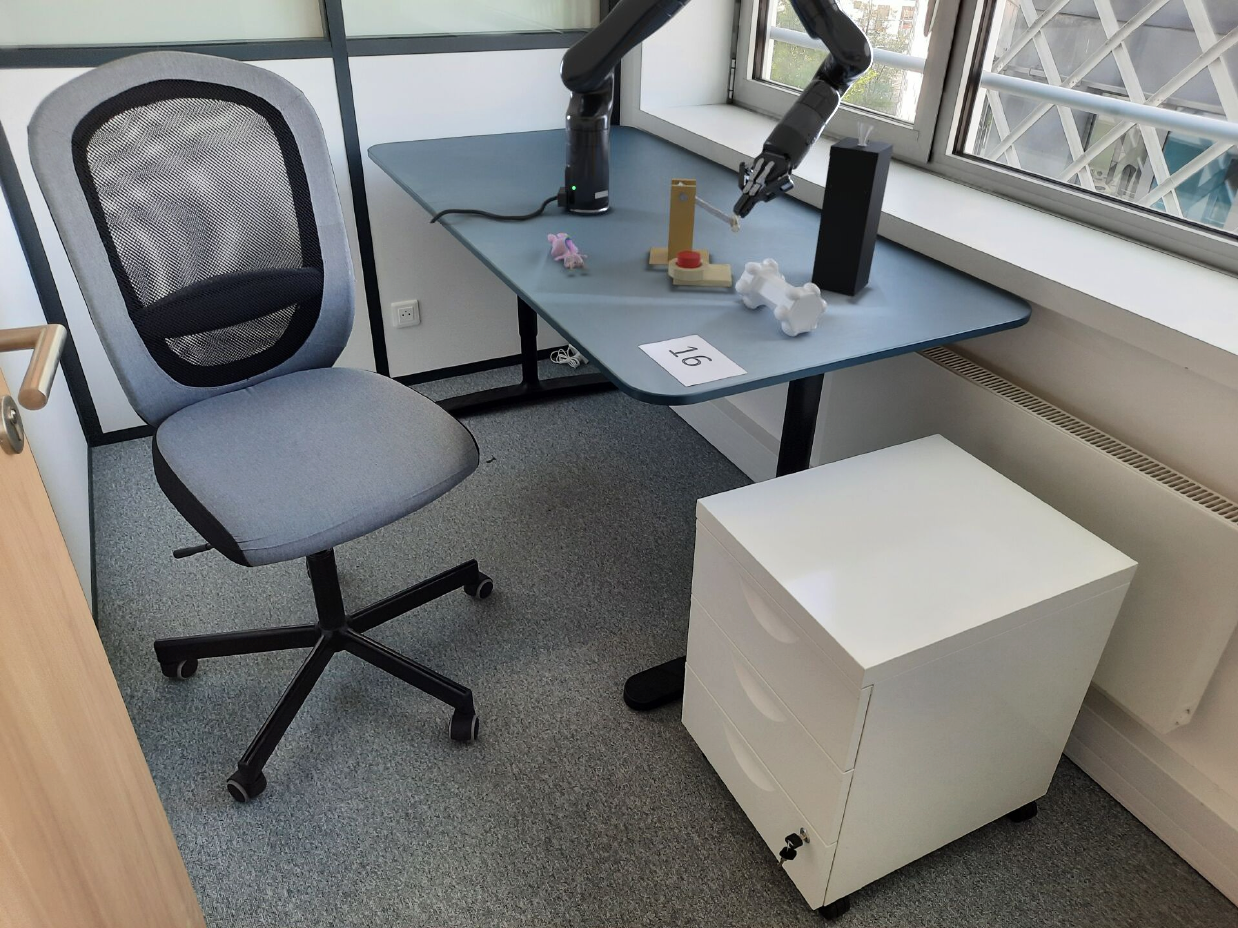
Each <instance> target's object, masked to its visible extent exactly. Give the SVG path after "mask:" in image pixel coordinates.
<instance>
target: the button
mask: <svg viewBox="0 0 1238 928" xmlns="http://www.w3.org/2000/svg"><path fill="white" fill-rule="evenodd" d="M700 262H701V254H700V253H698V252H695V251H682V252H679V253H678V259H677V266H679V267H682V268H690V269H693V268H699V267H700Z"/></svg>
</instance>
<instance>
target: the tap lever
mask: <svg viewBox="0 0 1238 928" xmlns="http://www.w3.org/2000/svg"><path fill="white" fill-rule="evenodd" d="M678 185H685V184H684V183H682V182H679V184H678ZM695 206H697V207H699V208H700V209H703V210H704V211H706V212H708V213H710V214H711V215H713V216H714V217H716V218H717V219H720V220H721V221H723V222H724V223H726V224H728V225H730V228H731V231H732V233H735V234H736V233H738V232H739V231H740V223H739V222H740V221H739V217H737V216H736V215H735V214H732V215H728V214H726V213H725V212H722V211H721V210H719V209H718V208H717V207H715V206H713V205H711V204H710V203H709V202H706V201H705V200H703V199H701V198H700V197H698V196H696V199H695Z"/></svg>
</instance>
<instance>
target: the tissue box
mask: <svg viewBox="0 0 1238 928" xmlns="http://www.w3.org/2000/svg"><path fill="white" fill-rule="evenodd" d="M876 129H877V126H873V125H871V124H869V123H863V122H861V121H857V137H858V138H857V137H850V136H847V137H845V138H843V139H841V140H839V141H838V142H835V143H833V144H831V145H830V149H829V154H828V156H829V159H828V164H827V172H826V177H825V186H824V191H823V193H824V194H823V198H822V199H823V200H822V207H821V212H820V220H819V226H818V233H817V239H816V240H817V241H816V247H815V255H814V260H813V261H814V262H813V267H812V275H811V282H810V283H813V284H815V285H816V286H817V287H818V288H819V290H820V291H821V290H822V291H826V292H830V293H835V294H839V295H844V296H847V297H855V296H856V295H857V294H858V293H859V292H860V291H861V290H863V289H864V287H866V286H867V285H868V284H869V280H870V275H871V269H872V264H873V258H874V255H875V254H874V253H875V249H876V248H875V247H876V241H877V238H878V237H877V236H878V231H879V225H880V220H881V215H882V210H883V204H884V197H885V193H886V187H887V183H888V176H889V170H890V165H891V160H892V154H893V153H894V152H893V151H894V146H895V145H894V143H893V142H886V141H878V140H871V139H870V138H871V136H872V134H873V133H874V132H875V130H876Z"/></svg>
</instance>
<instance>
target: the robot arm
mask: <svg viewBox="0 0 1238 928" xmlns="http://www.w3.org/2000/svg"><path fill="white" fill-rule="evenodd" d="M691 1H692V0H619V1H618V2H617V4H615V6H614V7H613V8H612V9H611V11H610V12H609V13H608V14H607V16H606V17H605V18H604V19H602V20H601V22H600V23H599V24H597V26H596V27H594V28H593V29H592V30H591V31H589V32H588V33H587V34H586V35H585V36H583V37H582V38H581V39H579V41H576V43H574V44H573V45H571V46H570V47H568V48H567V50H566V51H565V52H564V54H563V55H562V58H561V60H560V65H559V77H560V79H561V82H562V84H563V86H564V88H566V89H567V90H568V91H570V93H569V94H570V95H569V101H568V106H567V109H566V111H565V115H564V117H565V119H564V124H565V126H564V127H565V166H564V186H560V187H559V188H558V191H557V193H556V194H555V195H554V196H551V197H548V198H546V199H545V200H544V201H543V202H542V204H541V206H540V208H538V209H537V210H536V211H534V212H531V213H529V214H525V215H501V214H495V213H492V212H489V211H485V210H481V209H473V208H472V209H470V208H469V209H461V208H449V209H444V210H441V211H439V212H438V213H437V214H435V215H434V217H433V218H431V220H430V221H429V224H436V222H437V221H438V220H439V219H440V218H441V217H443V216H445V215H448V214H449V215H450V214H461V215H462V214H463V215H481V216H484V217H488V218H491V219H494V220H500V221H524V220H528V219H532V218H534V217H537V216H539V215H540V214H541V213H543V212H544V211H545V209H546V206H548V204H550V203H552V202H556V201H557V203H556V204H557V207H558V208H564V213H571V214H575V215H580V216H596V215H602V214H606V213H608V212H609V211H610V152H611V151H610V150H611V147H610V146H611V145H610V144H611V143H610V141H611V117H612V114H613V113H612V112H613V107H614V93H615V92H614V89H615V87H614V86H615V67H616V65H617V64H618V63H619V62H620V61H621V60H622V59H623V58H624V57H625V56H626V55H627V54H628V53H629V52H630V51H631V50H633V49H634V48H635V47H637V46H638V45H639V44H641V43H642V42H644V41H645V40H647V39H648V38H649V37H651V36H652V35H654V34H655V33H656V32H657V31H659V30H660V29H662V28H663V27H664V26H665V25H667V24H668V23H669V22H670V21H671V20H672V19H673V18H674V17H676V15H678V14H679V13H680V12H681V11H682V10H683V9H684V8H685V7H686V6H687V5H688V4H689V3H690V2H691ZM788 1H789V4H790V5H791V7H792V9H793V11H794V14H795V15H796V16H797V18H798V20H799V22H800V23H801V26H802V27H803V28H804V30H805V32H806V33H807V35H808V37H809V38H810V39H811V40H814V41H821V42H822V43H823V44H824V46H825V47H826V48H827V50H828V51H829V52H828V54H826V56H825V57H824V59H823V60H822V62H821V63H820V65H819V66H818V68H817V70H816V71H815V73H814V74H813V77H812V78H811V81H810V82H809V83H808V84H807V85H806V86H805V87H804V89H803V90H802V91H801V93H800V94H799V96H798V97H797V98H796V99H795V101H794V102H793V104H792V105H791V106H790V108H789V109H788V110H787V111H786V112H785V113H784V114H783V115H782V117H781V118H780V120H779V121H778V122H777V124H776V125H775V126H774V128H773V129H772V131H771V132H770V134H769V135H768V136H767V138H766V139H765V140H764V142H763V143H762V149H761V152H760V153H759V154H758V155H757V156H756V157H754V159H753V161H751V162H748V163H746V162H745V161H741V162H740V163H739V165H738V181H737V182H738V183H737V187H738V189H739V190H740V191H741V192H742V194H741V195H740V197H739V198H738V200H737V201H736V202H735V204H734V205H733V209H732V212H733V213H734V215H736V216H737V217H738V218H740V219H745V218H746V217H747V216H748V215H749V214H750V213H751V211H752V210H753V209H754V207H755V206H756V205H757V204H759V203H761V202H764V203H765V204H766V203H767V204H768V203H769V202H771V201H772V200H775V199H776V198H778V197H780V196H782V195H784V194H785V193H787V192H789V191H791V190H793V189H794V187H795V184H794V182H793V181H792V179H791V175H792V174H793V171H795V170H797V169H798V167H799V166H800V165H801V163H803V160H804V159H805V158H806V156H807V155H808V153H809V152H810V151H811V149H812V148H813V146H814V145H815V144H816V143H817V141H818V139H819V138H820V136H821V134H822V132H823V130H824V129H825V127H826V126H827V125H828V123H829V122H830V120H831V119H832V118H833V116H834V115H835V114H836V112H837V111H838V108H839V107H840V104H841V100H842V99H843V98H844V96H845V95H846V93H847V92H848V91H849V90H850V88H851V87H852V86H853V85H854V84H855V82H856V81H857V80H858V79H860V78H861V77H862V76H863V75H864V74H866V73H867V72H868V70H869V69H870V68H871V66H872V63H873V59H874V51H873V47H872V45H871V42H870V40H869V38H868V36H867V35H866V33H865V32H864V31H863V30H862V29H861V27H860V26H859V25H858V24H857V23H856V22H855V21H854V20H853V18H852V17H851V16H849V14H848V13H846V12H845V10H844V9H843V7H842V5H841V3H840V2H839V0H788Z"/></svg>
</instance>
